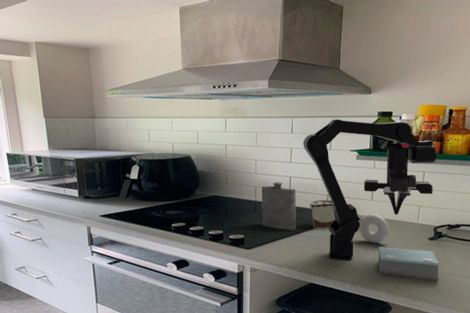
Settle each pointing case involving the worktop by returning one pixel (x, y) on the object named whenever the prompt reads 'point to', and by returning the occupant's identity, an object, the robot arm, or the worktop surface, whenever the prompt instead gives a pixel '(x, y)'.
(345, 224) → the robot arm
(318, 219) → the food container
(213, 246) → the worktop surface
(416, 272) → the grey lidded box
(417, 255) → the cover
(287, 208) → the flask
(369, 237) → the donut
